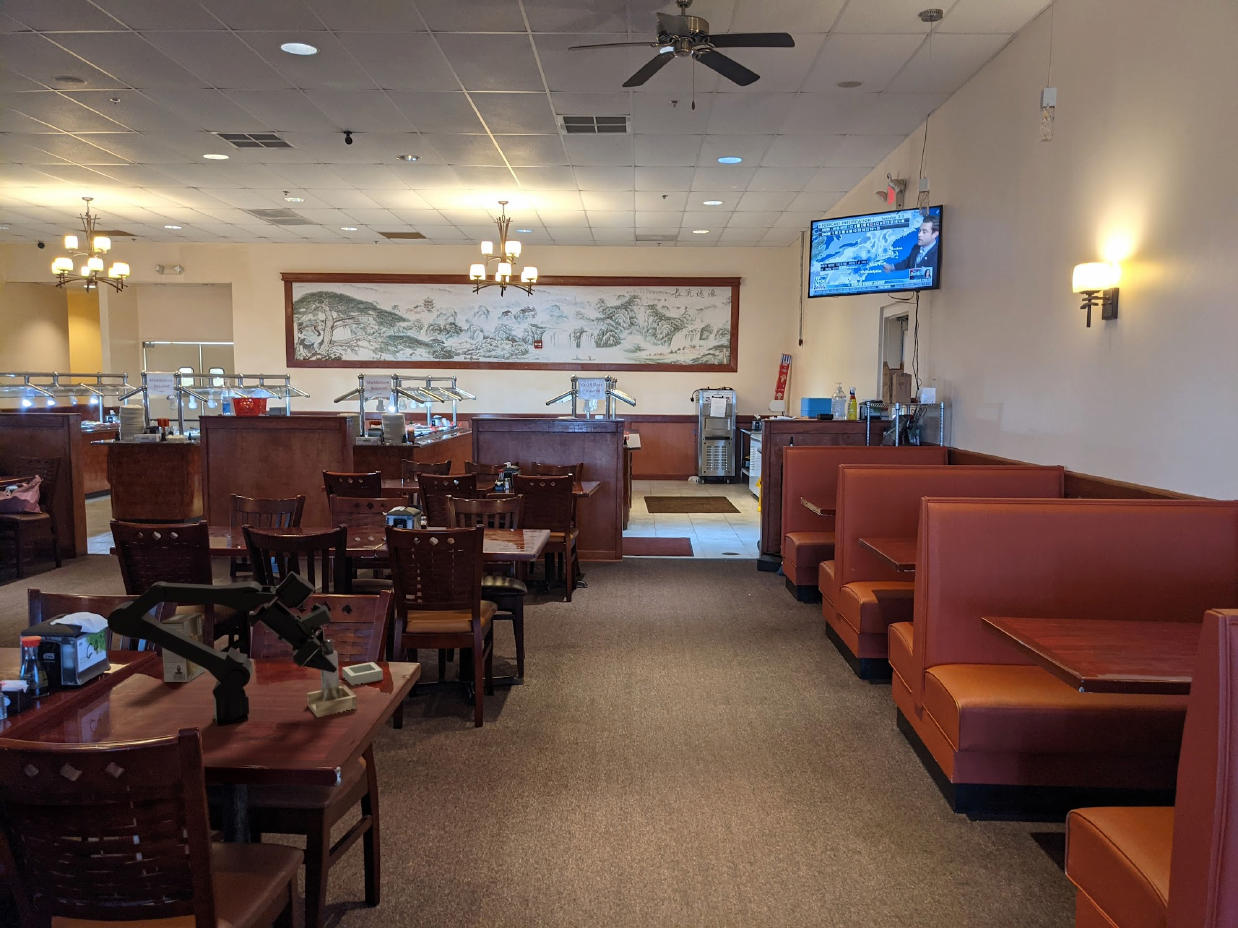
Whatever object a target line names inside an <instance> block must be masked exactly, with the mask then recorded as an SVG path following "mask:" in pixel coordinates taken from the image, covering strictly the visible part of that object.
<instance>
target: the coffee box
mask: <svg viewBox="0 0 1238 928" xmlns="http://www.w3.org/2000/svg"><path fill="white" fill-rule="evenodd" d="M159 622H160V623H162V624H164V625H166V626H168V627H170V628H172V629H174V630H176V631H178V632H180V633H182V634H184V635H186V636H188V637H190V638H192V639H194V640H196V641H198V642H200V643H202V644H204V642H205V640H204V630H203V629H204V627H203V626H204V625H203V612H183V613H181V612H179V613H177V614H175V615H173V616H171V617H168V618H167V619H164V620H162V621H159ZM204 645H205V644H204ZM161 651H162V662H163V663H162V664H163V680H164V683H165V682H188V683H190V682H191V681H193V680H194V679H195V678H198V676H200V675H202V674H203V673H204V672H206V669H205V668H203V667H201V666H199V665H197V664H195V663H193V662H191V661H189V660H187V659H184V658H182V657H180V656H178V655H176V654H174V653H172V652H170V651H168V650H166V649H164V648H162V647H161Z"/></svg>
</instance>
